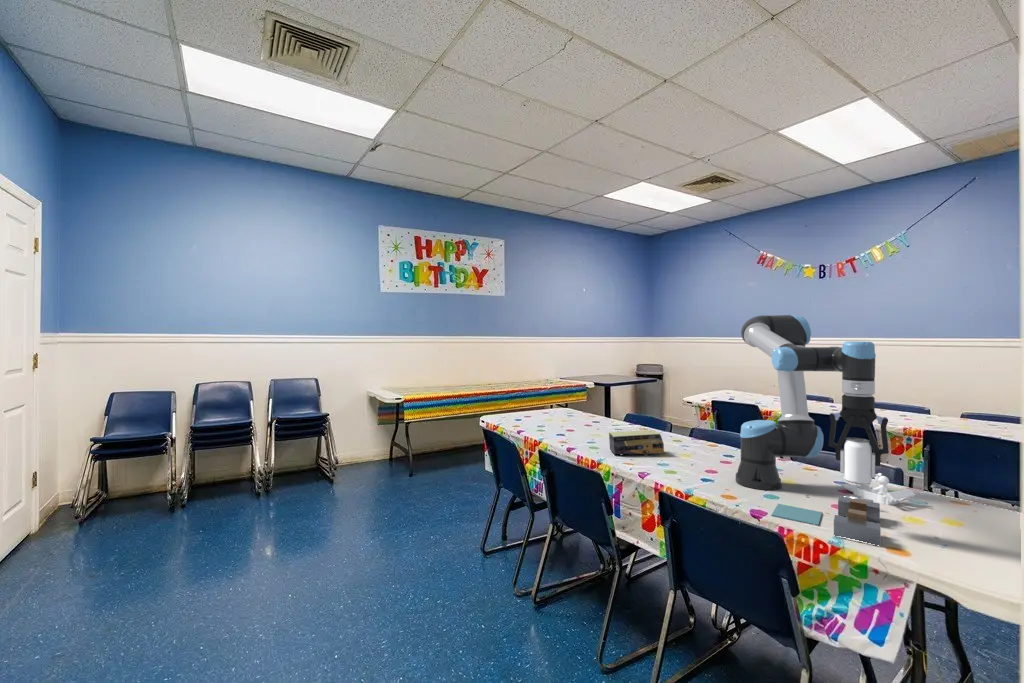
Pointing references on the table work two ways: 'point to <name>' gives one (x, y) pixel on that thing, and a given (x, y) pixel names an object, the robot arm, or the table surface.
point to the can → (858, 461)
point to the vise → (858, 519)
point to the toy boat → (879, 491)
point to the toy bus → (636, 442)
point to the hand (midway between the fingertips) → (857, 474)
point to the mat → (797, 514)
